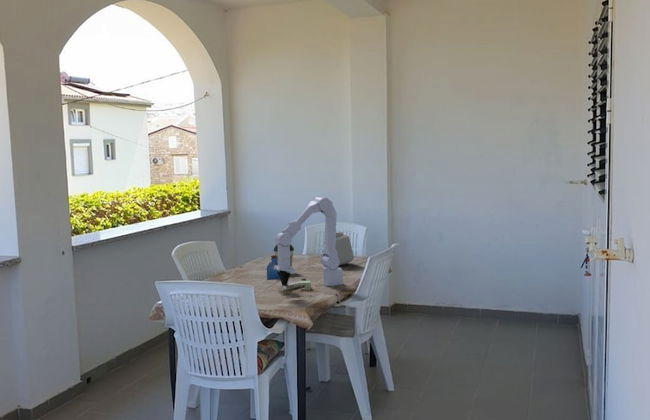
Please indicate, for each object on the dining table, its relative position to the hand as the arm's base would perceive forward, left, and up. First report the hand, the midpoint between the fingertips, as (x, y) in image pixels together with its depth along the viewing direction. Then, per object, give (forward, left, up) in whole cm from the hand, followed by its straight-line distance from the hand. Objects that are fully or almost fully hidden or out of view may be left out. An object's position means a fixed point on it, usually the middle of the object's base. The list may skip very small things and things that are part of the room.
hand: (284, 286), depth 286 cm
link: (-6, -1, -1) cm, 6 cm away
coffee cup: (-13, -44, -3) cm, 46 cm away
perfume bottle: (-4, -31, -3) cm, 32 cm away
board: (-5, +2, -2) cm, 6 cm away
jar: (-47, -51, -3) cm, 70 cm away
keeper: (-9, +3, -1) cm, 9 cm away
